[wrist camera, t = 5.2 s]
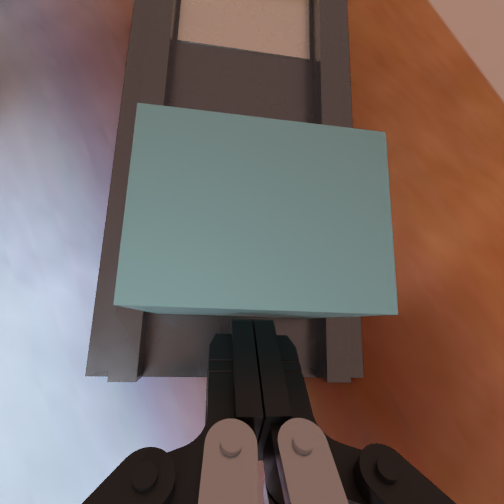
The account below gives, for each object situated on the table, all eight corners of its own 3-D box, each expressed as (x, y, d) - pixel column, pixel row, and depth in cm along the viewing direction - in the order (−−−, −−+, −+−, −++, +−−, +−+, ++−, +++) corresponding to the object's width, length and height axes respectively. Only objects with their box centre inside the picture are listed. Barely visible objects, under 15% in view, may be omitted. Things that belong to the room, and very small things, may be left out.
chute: (89, 374, 16) (73, 381, 14) (145, -63, 22) (140, -102, 20) (358, 375, 18) (378, 382, 16) (341, -26, 24) (354, -58, 22)
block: (155, 313, 16) (113, 304, 8) (165, 200, 18) (137, 102, 10) (310, 318, 17) (398, 314, 10) (309, 211, 19) (385, 132, 11)
